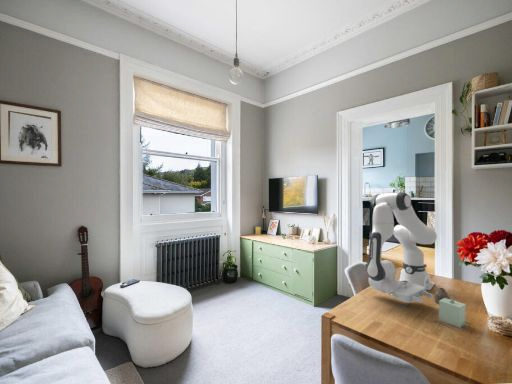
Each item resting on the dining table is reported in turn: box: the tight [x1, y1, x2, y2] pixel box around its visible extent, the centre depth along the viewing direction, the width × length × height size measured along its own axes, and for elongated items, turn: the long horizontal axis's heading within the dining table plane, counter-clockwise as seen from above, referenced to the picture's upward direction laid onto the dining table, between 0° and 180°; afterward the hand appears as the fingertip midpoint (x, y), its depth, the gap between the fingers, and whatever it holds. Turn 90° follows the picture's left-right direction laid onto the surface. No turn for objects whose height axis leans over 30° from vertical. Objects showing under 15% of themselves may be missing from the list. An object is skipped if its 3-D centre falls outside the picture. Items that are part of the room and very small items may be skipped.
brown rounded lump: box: [433, 287, 451, 305], centre depth 134 cm, size 7×7×9 cm
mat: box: [396, 302, 410, 309], centre depth 129 cm, size 11×10×1 cm
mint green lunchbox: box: [438, 298, 466, 328], centre depth 115 cm, size 6×8×10 cm
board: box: [434, 317, 471, 332], centre depth 115 cm, size 12×10×1 cm
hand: (427, 298), depth 123 cm, fingers open, 8 cm apart
